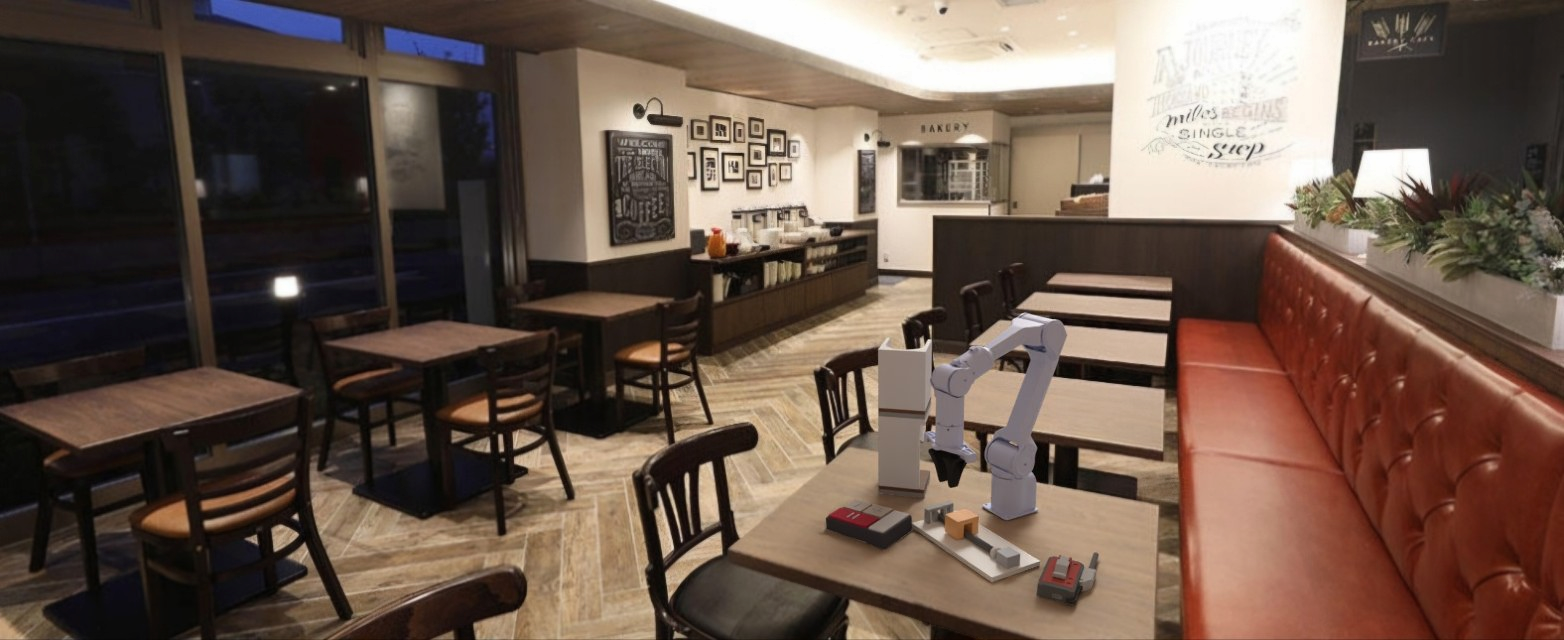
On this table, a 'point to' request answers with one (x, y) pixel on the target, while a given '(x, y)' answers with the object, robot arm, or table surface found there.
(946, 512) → the board
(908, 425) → the white box tower
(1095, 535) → the table surface
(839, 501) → the table surface
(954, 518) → the orange block
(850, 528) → the calculator
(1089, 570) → the walkie-talkie
